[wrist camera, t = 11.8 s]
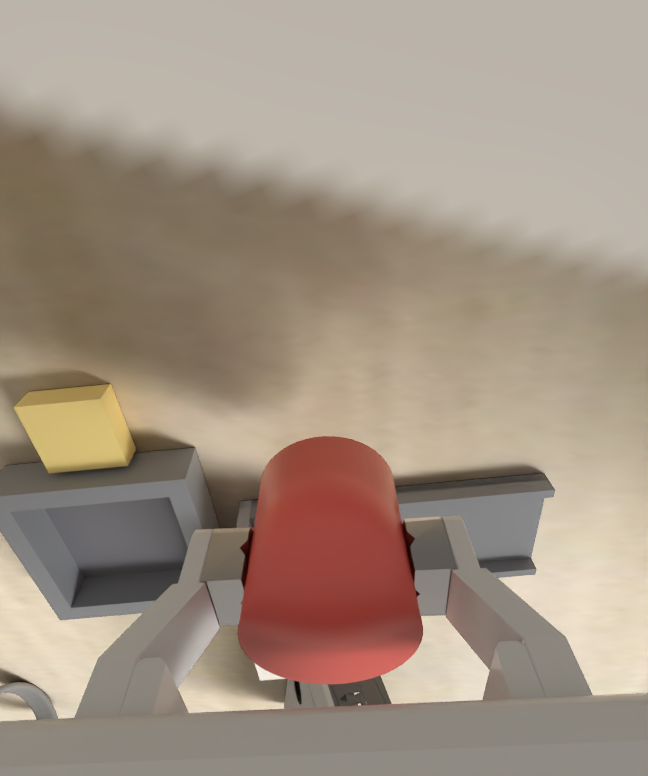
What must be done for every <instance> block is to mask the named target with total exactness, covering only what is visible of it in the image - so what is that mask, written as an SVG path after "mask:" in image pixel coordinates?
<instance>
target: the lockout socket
mask: <svg viewBox="0 0 648 776" xmlns="http://www.w3.org/2000/svg"><path fill="white" fill-rule="evenodd" d="M13 408H14V410H15V411H16V413H17V415H18V417H19V419H20V421H21V423H22V424H23V426H24V428H25V430H26V432H27V434H28V436H29V437H30V439H31V441H32V443H33V445H34V447H35V449H36V450H37V452H38V454H39V456H40V458H41V460H42V462H37V463H26V464H16V465H6V466H5V467H4V468H3V469H2V471H1V472H0V531H1V533H2V534H3V536H4V537H5V539H6V540H7V542H8V543H9V545H10V546H11V548H12V549H13V551H14V552H15V554H16V555H17V557H18V558H19V560H20V561H21V563H22V564H23V566H24V567H25V569H26V570H27V572H28V573H29V575H30V576H31V578H32V579H33V581H34V582H35V584H36V585H37V587H38V588H39V590H40V591H41V592H42V594H43V595H44V597H45V598H46V600H47V601H48V603H49V604H50V606H51V607H52V609H53V610H54V612H55V613H56V615H57V616H58V618H59V619H60V620H69V619H80V618H91V617H102V616H114V615H125V614H136V613H144V612H145V611H146V610H147V609H148V608H149V607H150V606H151V605H152V604H153V603H154V602H155V601H156V600H157V599H158V598H159V597H160V596H161V595H162V594H163V593H164V592H165V591H166V590H167V589H168V588H169V587H170V586H171V585H172V584H178V581H179V578H180V574H181V571H182V567H183V564H184V561H185V557H186V554H187V550H188V547H189V544H190V540H191V537H192V534H193V533H194V531H195V530H198V529H220V527H219V523H218V520H217V517H216V514H215V510H214V507H213V504H212V500H211V497H210V494H209V491H208V487H207V484H206V481H205V477H204V474H203V471H202V468H201V464H200V461H199V458H198V454H197V451H196V448H185V449H174V450H164V451H153V452H143V453H135V450H136V447H135V445H134V442H133V440H132V437H131V434H130V432H129V429H128V427H127V424H126V422H125V419H124V417H123V414H122V411H121V409H120V406H119V404H118V401H117V399H116V396H115V394H114V391H113V388H112V386H111V384H105V385H95V386H84V387H74V388H64V389H53V390H43V391H33V392H28V393H27V394H26V395H25V396H24V397H23V398H22V399H21V400H20V401H19V402H18V403H17V404H16V405H15V406H14V407H13Z"/></svg>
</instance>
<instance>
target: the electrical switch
mask: <svg viewBox="0 0 648 776" xmlns="http://www.w3.org/2000/svg"><path fill="white" fill-rule="evenodd" d="M354 692H360V693H358V694H356V695H355V696H354ZM359 703H361V705H384V704H391V701H390V699H389V696H388V694H387V691H386V689H385V686H384V684H383V681H382V679H381V676H377V677H374V678H371V679H367V680H363V681H358V682H352V683H345V684H312V683H304V682H299V681H294V680H290V679H287V687H286V695H285V703H284V709H293V708H315V707H338V706H358V704H359Z"/></svg>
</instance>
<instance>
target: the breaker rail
mask: <svg viewBox="0 0 648 776" xmlns="http://www.w3.org/2000/svg"><path fill="white" fill-rule="evenodd" d="M395 489H396V494H397V499H398V504H399V509H400V514H401V519H402V523H403V519H409V518H424V517H439V516H440V517H444V516H461V517H462V518H463V521H464V524H465V526H466V529H467V532H468V535H469V538H470V541H471V543H472V546H473V549H474V552H475V555H476V558H477V560H478V563H479V566H480V568H486V569H488V570H489V571H490V572H491V573H492V574H493V575H495V576H496V577H497V578H500V577H511V576H523V575H534V574H535V573H536V567H535V565H534V563H533V561H532V559H531V555H532V551H533V546H534V542H535V537H536V533H537V528H538V524H539V519H540V515H541V510H542V506H543V501H544V498H548V497H554V492H555V489H554V487H553V486H552V484H551V483H550V481H549V480H548V478H547V477H546V475H545V474H544V473H540V474H529V475H518V476H508V477H497V478H486V479H475V480H464V481H454V482H443V483H432V484H421V485H410V486H399V487H395ZM257 503H258V500H248V501H240V506H239V512H238V518H237V524H236V528H253V524H254V523H255V516H256V510H257Z"/></svg>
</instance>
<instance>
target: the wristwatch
mask: <svg viewBox="0 0 648 776" xmlns="http://www.w3.org/2000/svg"><path fill="white" fill-rule="evenodd" d="M2 692H8V693H13V694H16V695H18V696H20V697H21V698H23V699H24V700H25V701H26V702H27V703H28V704H29V705H30V707H31V709H32V710H33V712H34V714H35V716H36V719H37V720H42V719H58V717H57V714H56V711H55V709H54V707H53V705H52V703H51V701H50V700H49V698H48V697H47V696H46V694H45V693H44V692H43V691H42V690H41V689H39V688H38V687H36V686H35V685H33V684H29V683H25V682H15V683H9V684H5V685H2V686H0V693H2Z"/></svg>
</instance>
